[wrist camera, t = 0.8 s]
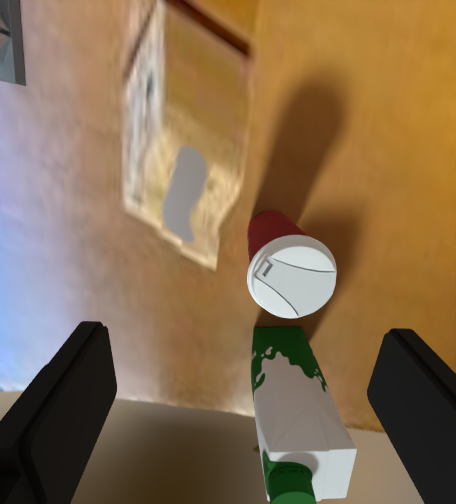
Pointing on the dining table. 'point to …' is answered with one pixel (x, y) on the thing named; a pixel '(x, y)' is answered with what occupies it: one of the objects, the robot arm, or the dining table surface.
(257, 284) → the paper cup
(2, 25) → the steel gear
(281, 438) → the milk carton
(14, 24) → the gear board
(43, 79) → the dining table surface
